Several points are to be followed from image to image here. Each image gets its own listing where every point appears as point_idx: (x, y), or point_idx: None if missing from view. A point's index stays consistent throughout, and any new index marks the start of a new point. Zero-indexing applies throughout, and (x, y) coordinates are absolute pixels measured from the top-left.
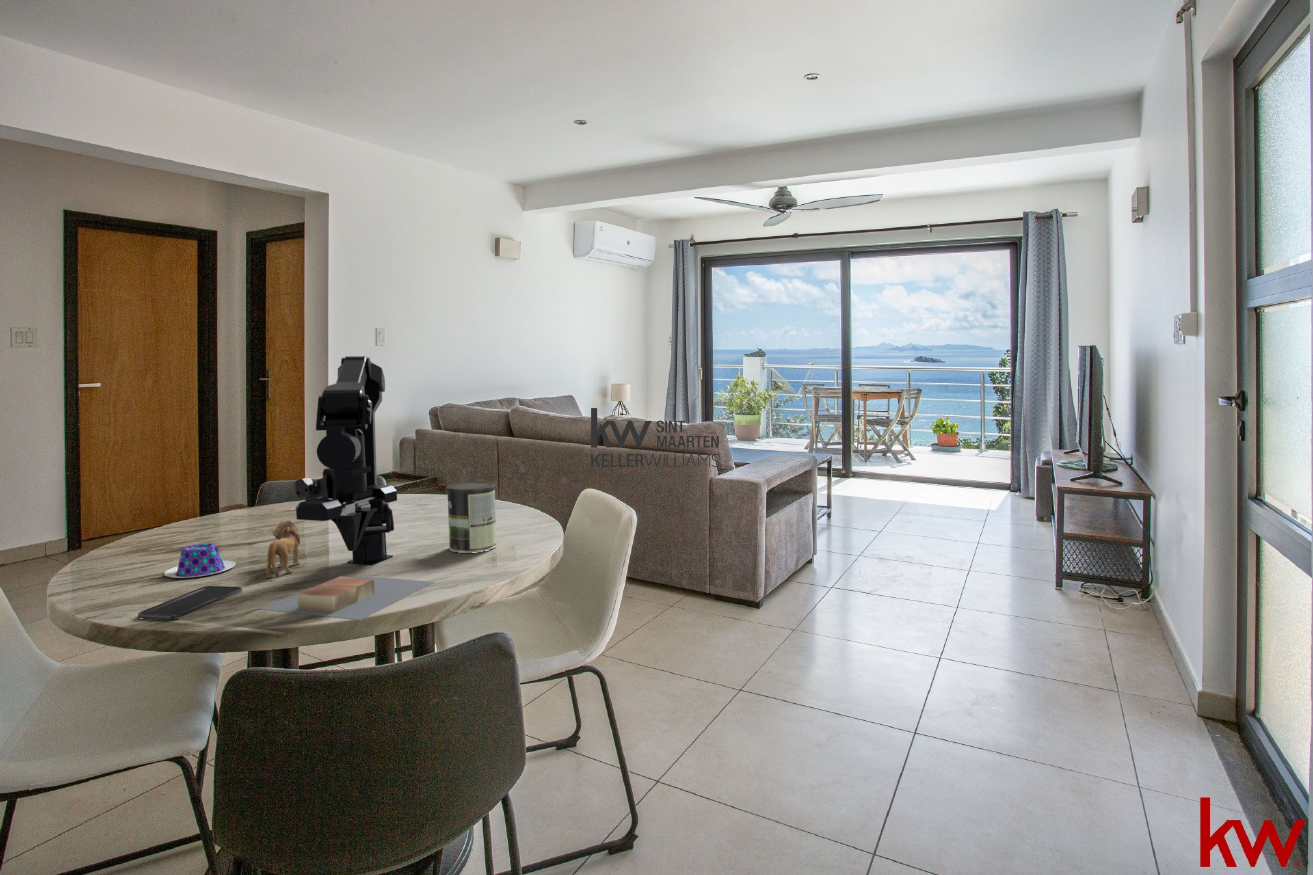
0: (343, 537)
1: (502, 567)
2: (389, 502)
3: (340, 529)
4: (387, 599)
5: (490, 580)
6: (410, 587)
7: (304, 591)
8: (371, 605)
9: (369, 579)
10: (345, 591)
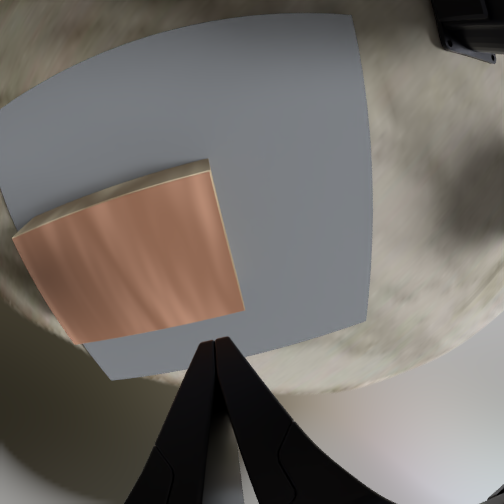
0: (171, 421)
1: (456, 321)
2: (495, 492)
3: (148, 484)
4: None
5: (395, 362)
6: (317, 313)
7: (30, 234)
8: (168, 345)
9: (235, 302)
10: (117, 336)
